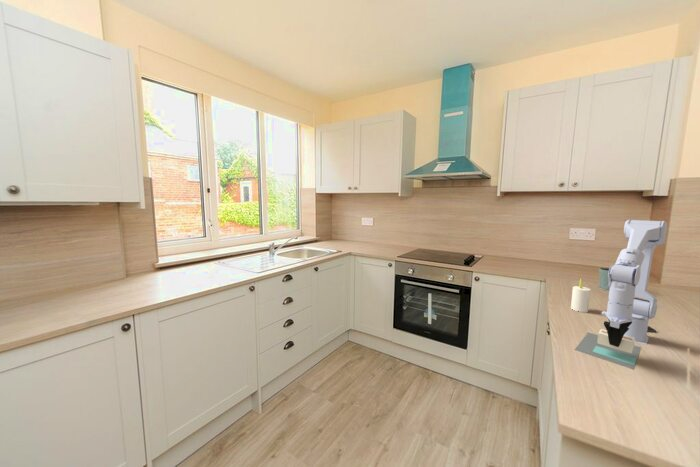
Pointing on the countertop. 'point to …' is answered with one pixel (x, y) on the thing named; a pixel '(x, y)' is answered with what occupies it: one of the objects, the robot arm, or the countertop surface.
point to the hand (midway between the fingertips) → (615, 342)
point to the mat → (608, 351)
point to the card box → (625, 344)
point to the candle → (580, 298)
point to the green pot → (604, 278)
